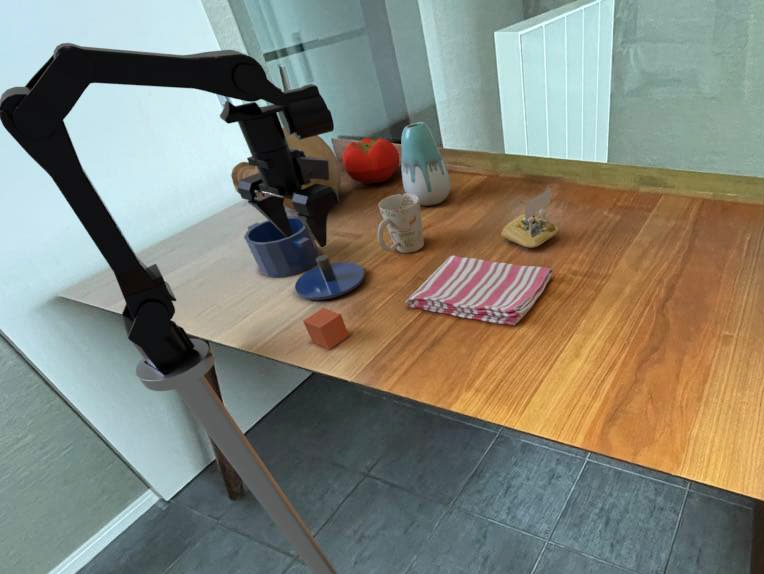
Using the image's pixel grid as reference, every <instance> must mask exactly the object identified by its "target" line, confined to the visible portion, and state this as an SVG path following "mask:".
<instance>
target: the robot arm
mask: <svg viewBox="0 0 764 574" xmlns="http://www.w3.org/2000/svg"><path fill="white" fill-rule="evenodd" d="M91 84H108V85H122V86H123V85H125V86H140V87H141V86H142V87H156V88H157V87H158V88H174V89H175V88H176V89H193V90H194V89H195V90H198V91H203V92H207V93H210V94H214V95H218V96H222V97H226V98H231V99H235V100H239V101H243V102H247V103H243V104H238V105H234V104H233V103H232V102H230V101H228V100H226V101H224V106H223V109H222V111H221V112H220V114H219V118H220V119H221V120H222V121H224V122H225V123H226V124H228V125H229V124H234V123H237V124H238V126H239V128H240V131H241V134H242V136H243V138H244V140H245V143H246V145H247V148H248V150H249V152H250V155H251V156H250V157H247V158H246V159H247V162H249V164H250V165H253V166H256V167H257V169H258V172H259V173H256V174H254V175H251V176H249V177H246V178H244V179H241V180H239V183H238V187H237V188H238V191H239V193H240V194H239V193H238V194H239V195H240V197H241V199H243V200H246V201H247V203H248V204H249V205H251V206H252V207H253V208H255V209H256V210H257V211H258V212H259V214H261V215H262V216H263V217H264V218H266V220H269V221H270V222H271V223H272V224H273V225H274V226H275V227H276V228H277V229H278V230H279V231H281V232H282V233H283V234H284V235H285V236H286V237H290V236H292V232H291V227H290V224H289V221H288V218H287V216H288V214H287V211H286V207H285V206H284V204H283V202H284V198H288V199H292V203H293V206H294V208H295V209H296V212H297V213H296V217H298V218H299V219H300V221H301V222H302V223H303V225H304V226H305V227H306V229H307V230H308V231H309V233H310V234H311V236H312V237H313V238H314V240H315V242H316V245H317V246H319V247H320V248H324V247H326V246H327V244H328V243H327V242H328V241H327V235H328V233H327V227H328V226H327V225H328V223H327V222H328V216H329V213H330V211H331V210H333V209H335V207H336V206H337V205H339V204H340V203H341V200H340V198H339V195H338V194H337V191H336V190H335V189H333V188H332V187H330V186H326V185H321V184H313V185H311V186H309V187H307V188H305V189H301V188H302V185H307V184H309V183H311V180H310V179H324V180H329V162H328V160H324V159H319V158H313V157H306V156H305V154H304V152H303V151H302V150H296V149H290V148H289V145H288V142H287V140H286V137H285V134H284V132H283V129H282V128H285V130H286V132H287V133H288V134H289V135H291V134H294V135H295V137H296V138H297V139H298V140H301V139H305V138H308V137H312V136H316V135H318V136H320V135H323V134H328V133H331V132H334V129H335V125H334V119H333V116H332V112H331V110H330V109H329V108H328V106H327V103H326V101H325V99H324V98H323V95H321V93H320V91H319V87H318V86H317V85H315V84H313V83H309V84H304V85H303V86H301V87H298V88H293V89H289V90H284V91H282V89H281V88H280V87H278V86H276V85H275V84H274V83H273V82H271V81H270V80H269V79H268V77H267V73H266V70H265V68H264V67H263V66H262V64H261V63H259V62H258V61H257V60H256V59H255V58H254V57H252V56H250V55H248V54H245V53H244V52H241V51H238V50H235V49H221V50H211V51H204V52H198V53H191V54H190V53H189V54H173V53H171V54H170V53H161V52H151V51H150V52H149V51H138V50H128V49H115V48H105V47H95V46H93V47H92V46H83V45H78V44H76V43H71V42H63V43H60V44H57V45H56V46H55V48H54V49H53V54H52V55H51V56H50V58H48V59H47V61H46V62H45V63H44V64H43V65H42V66H41V67H40V68H39V69H38V70H37V71H36V72H35V74H34V75H33V76H32V77H31V78H30V79H29V80H28V82H27V83H26V84H25V85H24V86H14V87H10V88H7V89H6V90H5V91H4V92H3V93H2V94H1V96H0V122H1V124H2V126H3V128H4V129H5V130H6V131H7V133H8V134H9V135H10V136H11V137H12V138H13V140H15V141H16V142H17V144H19V146H20V147H21V148H22V149H23V150H24V151H25V153H27V155H28V156H29V157H30V158H31V159H32V160H33V161H34V162H35V163H37V164H38V165H39V167H41V169H42V170H44V172H46V174H48V175H49V177H50V178H51V179H52V181H53V182H54V184H55V185H56V187H57V188H58V190H59V191H60V193H61V195H62V196H63V197H64V199H65V201H66V202H67V203H68V205H69V207H70V208H71V210H72V211H73V213H74V214H75V216H76V217H77V219H78V221H79V222H80V223H81V224H82V226H83V228H84V229H85V231H86V233H87V234H88V236H89V238H90V239H91V240H92V242H93V243H94V245H95V247H96V248H97V249H98V251H99V252H100V254H101V255H102V257H103V259H104V260H105V261H106V263H107V265H108V266H109V268H111V270H112V272H113V274H114V276H115V279H116V281H117V284H118V287H119V289H120V292H121V294H122V297H123V299H124V301H125V302H124V303H125V305H124V308H123V310H122V312H121V314H120V316H121V320H122V323H123V327H124V330H125V332H126V335H127V338H128V340H129V341H130V342H131V343H132V344H133V346H134V347H135V348H136V350H137V351H138V352H139V354H140V355H141V356H142V359H143V358H144V359H145V361H144V363H145V364H146V365H147V366H149V367H150V368H152V369H154V370H155V371H157V372H159V373H160V374H162V375H166V374H168V373H169V372H171V371H173V370H174V369H176V368H178V367H179V366H181V365H183V364H184V363H186V362H188V361H189V360H191V359H193V358H194V357H196V356H198V355H199V352H198V351H197V350H195V349H193V348H194V347H195V346H194V344H193V343H192V341H191V339H192V338H191V337H190V336H189V335H188V333H187V332H186V330H185V329H184V327H182V326H180V325H178V324H177V323H176V321H173V317H174V315H175V314H176V307H175V305H174V303H173V302H177V298H176V296H175V294H174V292H173V290H172V288H171V285H170V283H168V282H167V281H166V280H165V279H164V276H163V275H162V273H161V270H160V268H159V266H158V264H157V263H154V264H151V265H149V266H147V265H146V264H145V263H144V262H143V261H142V260H141V259H140V258H139V257H138V255H137V254H136V252H135V251H134V249H133V247H132V246H131V244H130V242H129V241H128V239H127V237H126V236H125V233H123V231H122V229H121V228H120V226H119V224H118V223H117V221H116V219H115V218H114V216H113V215H112V213H111V211H110V210H109V208H108V206H107V205H106V202H105V201H104V199H103V198H102V197H101V195H100V193H99V192H98V190H97V188H96V187H95V185H94V184H93V181H92V180H91V178H90V177H89V175H88V174H87V172H86V170H85V168H84V167H83V165H82V164H81V160H80V158H79V156H78V153H77V150H76V148H75V146H74V142H73V140H72V138H71V135H70V132H69V130H68V128H67V125H66V123H65V119H66V117H68V115H69V114H70V112H71V111H72V110H73V109H74V107H75V106H76V104H77V103H78V101H79V100H80V98H81V97H82V95H84V92H85V91H86V89H87V88H88V87H89V86H90V85H91ZM259 100H262V101H264V102H267V103H269V104H270V105H264V106H259V104H258V103H257V102H258V101H259ZM295 209H294V210H295Z"/></svg>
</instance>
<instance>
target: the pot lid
mask: <svg viewBox="0 0 764 574" xmlns="http://www.w3.org/2000/svg"><path fill="white" fill-rule="evenodd" d="M316 262H317V263H316V265H317V266H315V267H314V268H310V269H308V270H307V271H306V272H305V273H303V274H302V275H301V276H299V278H297V280H296V282H295V284H294V289H295V292H296V294H297V295H298V296H300V297H301V298H304V299H306V300H313V301H319V300H328V299H333V298H337V297H341V296H343V295H346V294H347V293H349V292H352V291H354V290H355V289H356V288H357V287H358V286H360V285H361V284H362V283H363V281H364V279H365V277H366V272H365V270H364V268H363V267H362V266H361V265H360V264H358V263H356V262H352V261H351V262H350V261H335V262H331V261H330V257H329V256H328V255H326V254H322V255H320V256H319V257H317V258H316Z"/></svg>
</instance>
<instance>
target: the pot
mask: <svg viewBox="0 0 764 574" xmlns="http://www.w3.org/2000/svg"><path fill="white" fill-rule="evenodd" d="M287 218H288V221H289V224H290V227H291V232H292V236H290V237H286V236H285V235H284V234H283V233H282V232H281V231H279V230H278V229H277V228H276V227H275V226H274V225H273V224H272V223H271V222H270V221H269V220H268V219H266V220H264V221H262V222H255V223H253V224H251V225H249V226H247V227H246V228H247V229H248V230H247V231H246V232H245V234H244V235H243V239H244V241H245V243H246V245H247V247H248V249H249V251H250V252H251V255H252V257H253V259H254V261H255V263H256V265H257V267H258V269H259V270H260V273H261V274H262V275H264V276H266V277H270V278H285V277H291V276H294V275H298V274H301V273H303V272H305V271H306V272H307V271H308V270H310V269H312V267H314V266H316V265H317V262H316V258H317V257H319V256H321V253H320V249H319V247H318V244H317V242H316V241H315V240H314V238H313V237H312V236H311V234H310V233H309V231H308V230H307V229H306V227H305V226H304V225H303V223H302V222H301V221H300V219H299V218H298V216H292V215H291V216H289V215H287Z"/></svg>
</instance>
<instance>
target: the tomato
mask: <svg viewBox="0 0 764 574" xmlns="http://www.w3.org/2000/svg"><path fill="white" fill-rule="evenodd" d="M342 156H343V157H342V163H343V167H344V169H345V172H346V173H347V175H348V176H349V178H351V180H353V181H355V182H358V183H362V184H366V185H370V184H377V183H383V182H385V181H387V180H389V179H390V178H391V177H392V176H393V174H394V173H395V172H396V171H397V170H398V168H399V167H400V163H401V162H400V153H399V151H398V149H397V147H396V146H395V145H394V144H393V143H392V142H391V141H389V140H388V139H386V138H383V137H382V138H381V137H378V138H377V139H376V138H374V139H373V138H370V137H366V138H362V139H361V140H360V141H359V142H354V141H352V142H350V143H349V144H348V145H347V146H346V148H345V149H344V152H343V154H342Z"/></svg>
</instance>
